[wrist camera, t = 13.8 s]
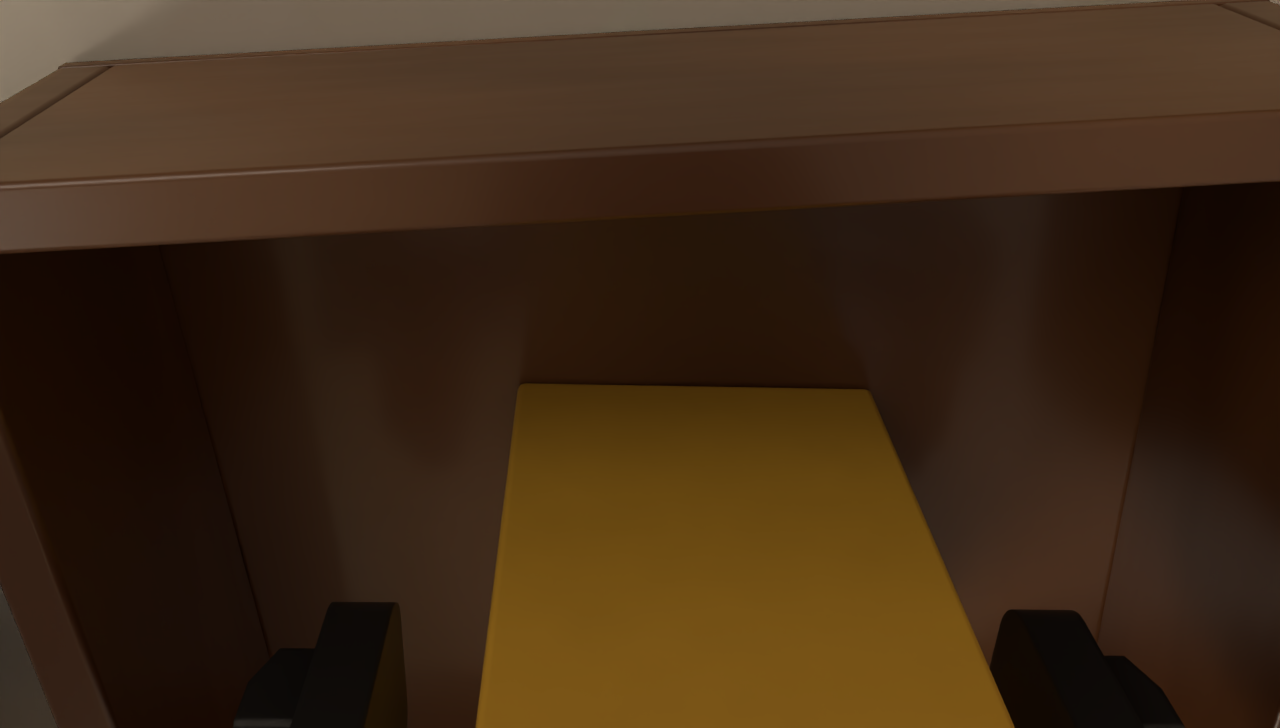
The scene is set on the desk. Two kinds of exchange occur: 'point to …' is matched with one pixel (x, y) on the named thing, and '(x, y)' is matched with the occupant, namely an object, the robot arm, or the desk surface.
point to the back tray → (638, 323)
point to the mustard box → (720, 569)
